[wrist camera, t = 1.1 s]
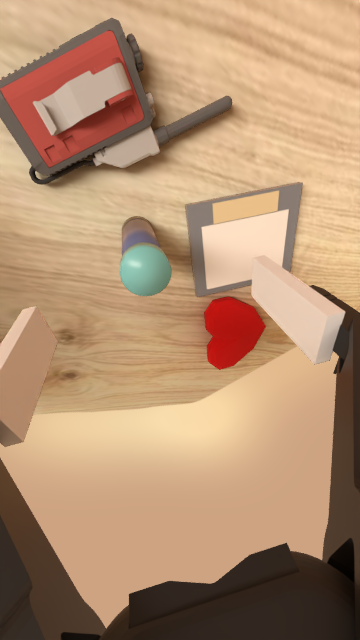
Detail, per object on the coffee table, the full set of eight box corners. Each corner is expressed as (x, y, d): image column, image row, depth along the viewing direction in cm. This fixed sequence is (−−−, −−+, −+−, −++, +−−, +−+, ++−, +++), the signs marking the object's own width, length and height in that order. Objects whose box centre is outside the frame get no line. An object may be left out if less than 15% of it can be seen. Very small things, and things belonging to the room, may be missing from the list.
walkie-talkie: (54, 204, 25) (229, 116, 24) (43, 212, 22) (247, 110, 20) (-17, 98, 20) (202, -20, 19) (-47, 86, 16) (221, -61, 15)
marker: (125, 252, 29) (128, 300, 19) (116, 218, 27) (113, 254, 17) (157, 245, 29) (174, 290, 20) (150, 211, 27) (166, 243, 17)
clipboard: (195, 294, 34) (197, 298, 34) (184, 204, 27) (186, 206, 27) (286, 273, 35) (290, 276, 35) (298, 182, 28) (303, 183, 28)
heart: (258, 285, 38) (199, 298, 36) (275, 293, 34) (210, 308, 32) (255, 348, 43) (204, 363, 41) (270, 361, 39) (214, 378, 37)
